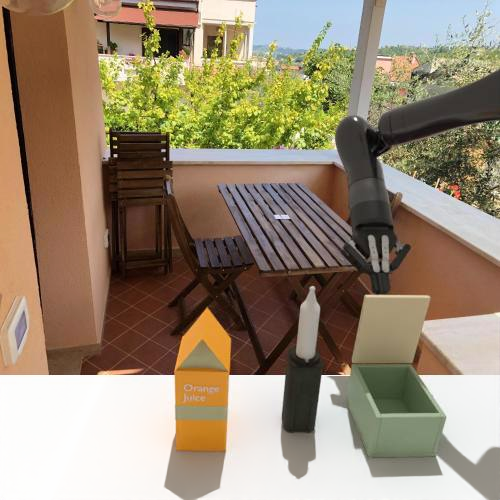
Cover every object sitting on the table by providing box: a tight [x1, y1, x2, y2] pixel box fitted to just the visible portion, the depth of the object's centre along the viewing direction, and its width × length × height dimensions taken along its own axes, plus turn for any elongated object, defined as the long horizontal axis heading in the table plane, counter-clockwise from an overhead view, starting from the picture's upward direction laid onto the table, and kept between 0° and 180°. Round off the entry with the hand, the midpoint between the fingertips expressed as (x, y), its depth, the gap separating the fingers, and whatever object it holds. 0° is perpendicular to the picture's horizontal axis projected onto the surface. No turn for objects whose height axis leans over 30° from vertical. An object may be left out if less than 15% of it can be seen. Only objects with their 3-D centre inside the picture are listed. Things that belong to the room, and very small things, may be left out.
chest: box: [345, 363, 447, 459], centre depth 70 cm, size 13×11×8 cm
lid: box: [351, 294, 431, 364], centre depth 71 cm, size 13×11×1 cm
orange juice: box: [173, 306, 232, 452], centre depth 65 cm, size 8×9×20 cm
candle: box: [281, 285, 324, 434], centre depth 67 cm, size 5×5×25 cm
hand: (382, 295), depth 74 cm, fingers closed
